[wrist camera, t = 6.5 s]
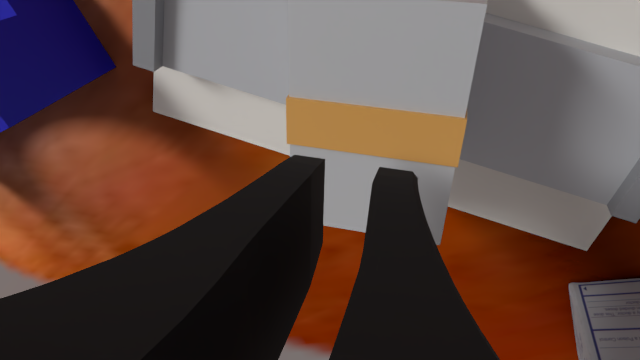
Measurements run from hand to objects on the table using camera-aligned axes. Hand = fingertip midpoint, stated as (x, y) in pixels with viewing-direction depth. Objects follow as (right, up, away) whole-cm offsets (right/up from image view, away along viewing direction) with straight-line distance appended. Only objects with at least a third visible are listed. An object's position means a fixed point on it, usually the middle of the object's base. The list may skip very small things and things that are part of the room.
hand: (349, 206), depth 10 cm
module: (+2, +4, +6) cm, 8 cm away
